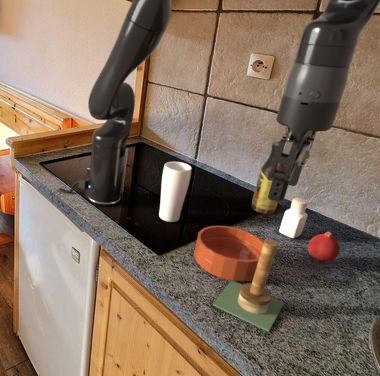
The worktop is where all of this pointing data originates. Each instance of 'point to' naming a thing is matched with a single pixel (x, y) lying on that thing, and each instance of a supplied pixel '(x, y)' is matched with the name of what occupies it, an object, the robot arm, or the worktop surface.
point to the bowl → (228, 252)
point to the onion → (323, 248)
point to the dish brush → (259, 282)
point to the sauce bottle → (266, 185)
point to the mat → (231, 305)
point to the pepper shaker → (294, 218)
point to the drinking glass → (174, 190)
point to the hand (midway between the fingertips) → (282, 192)
